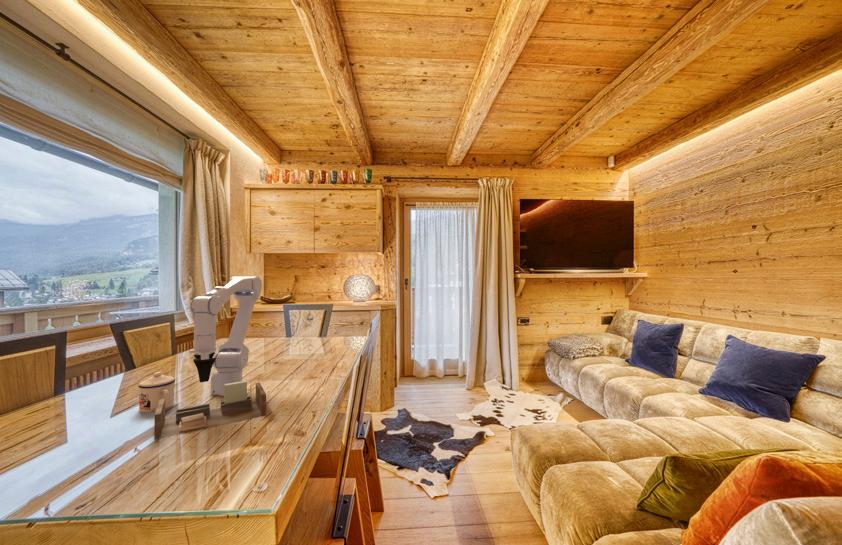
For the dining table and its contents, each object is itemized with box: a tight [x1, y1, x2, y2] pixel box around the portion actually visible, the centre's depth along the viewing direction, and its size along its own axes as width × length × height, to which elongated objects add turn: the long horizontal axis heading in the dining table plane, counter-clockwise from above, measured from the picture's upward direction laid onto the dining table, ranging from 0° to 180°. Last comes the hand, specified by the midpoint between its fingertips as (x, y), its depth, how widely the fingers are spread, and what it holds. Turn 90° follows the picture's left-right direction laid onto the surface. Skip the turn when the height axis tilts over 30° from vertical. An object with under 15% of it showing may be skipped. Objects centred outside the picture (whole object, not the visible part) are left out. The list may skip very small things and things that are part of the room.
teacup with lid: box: [138, 371, 176, 413], centre depth 104 cm, size 12×9×12 cm
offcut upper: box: [181, 413, 205, 427], centre depth 90 cm, size 3×5×1 cm
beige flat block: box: [223, 380, 248, 404], centre depth 102 cm, size 2×6×8 cm, turn 124°
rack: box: [153, 382, 267, 440], centre depth 96 cm, size 14×26×7 cm, turn 124°
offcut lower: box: [179, 417, 206, 432], centre depth 90 cm, size 4×6×1 cm, turn 124°
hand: (204, 378), depth 102 cm, fingers open, 7 cm apart
